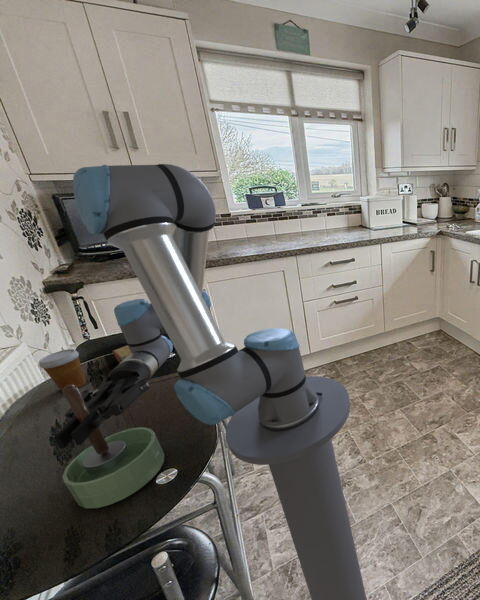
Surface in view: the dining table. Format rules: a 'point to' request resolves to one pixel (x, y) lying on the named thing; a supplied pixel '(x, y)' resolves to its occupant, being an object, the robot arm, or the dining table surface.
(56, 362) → the disposable coffee cup
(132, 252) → the robot arm
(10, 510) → the dining table surface
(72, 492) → the bowl
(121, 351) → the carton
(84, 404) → the wooden peg on disc
